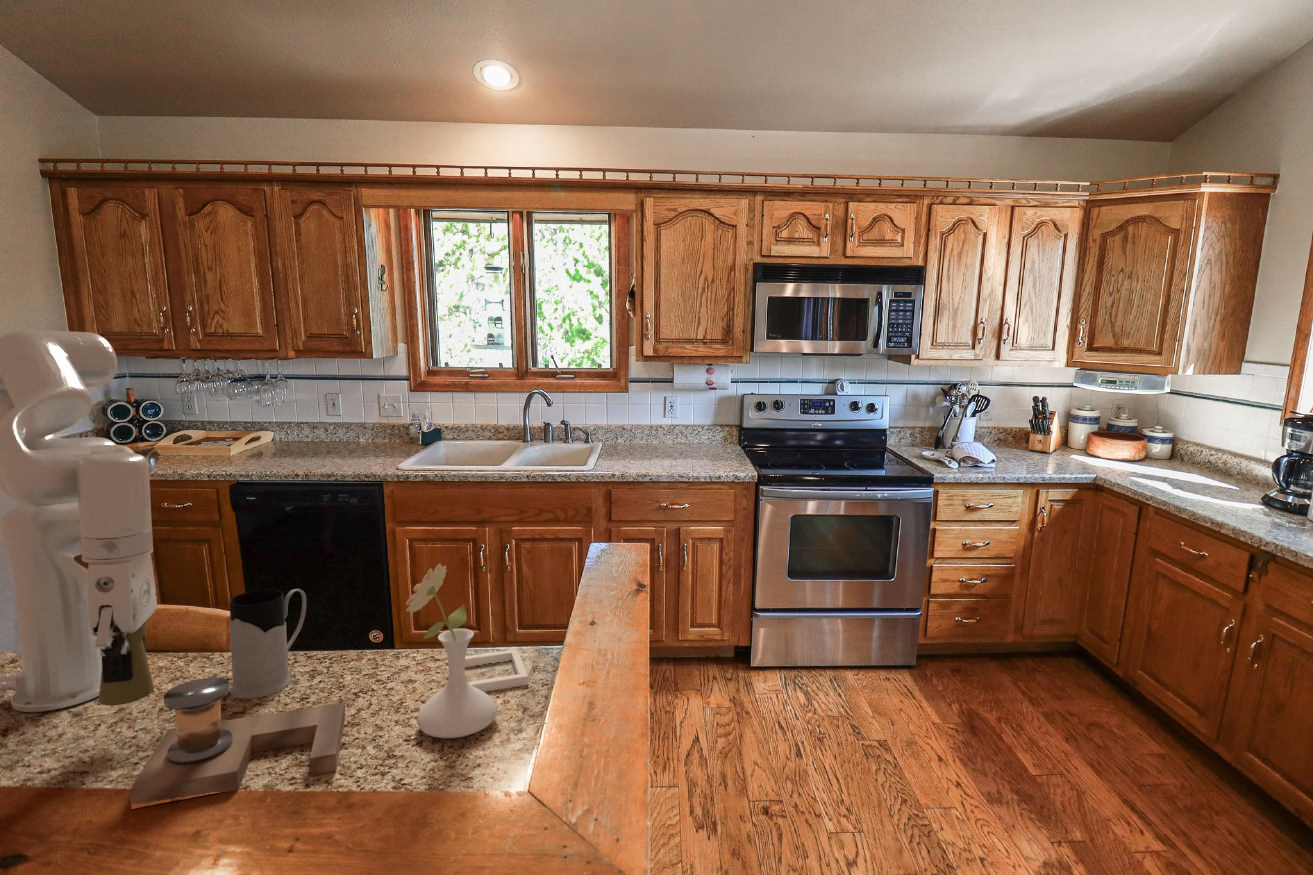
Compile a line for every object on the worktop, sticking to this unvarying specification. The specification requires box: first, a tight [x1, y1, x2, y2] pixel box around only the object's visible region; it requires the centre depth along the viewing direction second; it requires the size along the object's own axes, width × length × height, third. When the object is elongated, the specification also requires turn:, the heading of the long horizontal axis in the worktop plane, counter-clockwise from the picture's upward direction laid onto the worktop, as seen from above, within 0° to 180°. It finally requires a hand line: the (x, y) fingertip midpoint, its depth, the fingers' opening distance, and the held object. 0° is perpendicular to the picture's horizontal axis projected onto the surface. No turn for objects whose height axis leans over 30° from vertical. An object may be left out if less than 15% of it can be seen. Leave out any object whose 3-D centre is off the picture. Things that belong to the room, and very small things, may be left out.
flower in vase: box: [405, 563, 498, 739], centre depth 96 cm, size 13×11×25 cm
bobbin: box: [163, 676, 233, 765], centre depth 86 cm, size 7×7×8 cm
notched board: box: [129, 702, 346, 805], centre depth 89 cm, size 22×14×2 cm, turn 111°
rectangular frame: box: [465, 648, 529, 693], centre depth 113 cm, size 11×11×2 cm
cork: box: [98, 621, 155, 707], centre depth 92 cm, size 6×6×11 cm
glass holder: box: [229, 588, 307, 699], centre depth 111 cm, size 9×14×15 cm, turn 164°
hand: (125, 671), depth 92 cm, fingers closed on cork, 4 cm apart
